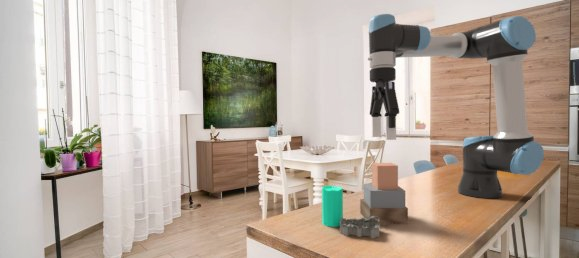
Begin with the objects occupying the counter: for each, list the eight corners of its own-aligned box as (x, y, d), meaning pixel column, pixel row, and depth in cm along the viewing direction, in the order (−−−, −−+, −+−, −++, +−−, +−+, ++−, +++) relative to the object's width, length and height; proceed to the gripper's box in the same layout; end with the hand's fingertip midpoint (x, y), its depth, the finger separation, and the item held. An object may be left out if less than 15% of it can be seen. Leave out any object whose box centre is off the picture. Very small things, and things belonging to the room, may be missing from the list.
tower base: (393, 213, 100) (393, 198, 100) (407, 225, 89) (407, 208, 89) (360, 214, 100) (360, 198, 99) (370, 225, 89) (370, 208, 88)
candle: (318, 221, 92) (318, 181, 91) (335, 218, 94) (335, 179, 94) (329, 228, 86) (328, 185, 86) (347, 224, 89) (346, 183, 88)
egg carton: (381, 230, 85) (381, 215, 84) (379, 240, 78) (379, 224, 77) (342, 226, 88) (342, 212, 88) (337, 235, 81) (337, 220, 81)
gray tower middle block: (395, 199, 99) (395, 183, 99) (405, 208, 89) (405, 190, 89) (363, 199, 99) (363, 183, 99) (370, 207, 89) (370, 190, 89)
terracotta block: (391, 184, 97) (391, 162, 96) (397, 189, 91) (397, 165, 90) (372, 185, 97) (372, 163, 96) (377, 189, 91) (377, 165, 90)
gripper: (359, 74, 105) (360, 136, 106) (383, 60, 80) (384, 141, 81) (381, 73, 106) (382, 135, 106) (411, 60, 81) (412, 140, 81)
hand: (383, 138), depth 94 cm, fingers open, 13 cm apart
